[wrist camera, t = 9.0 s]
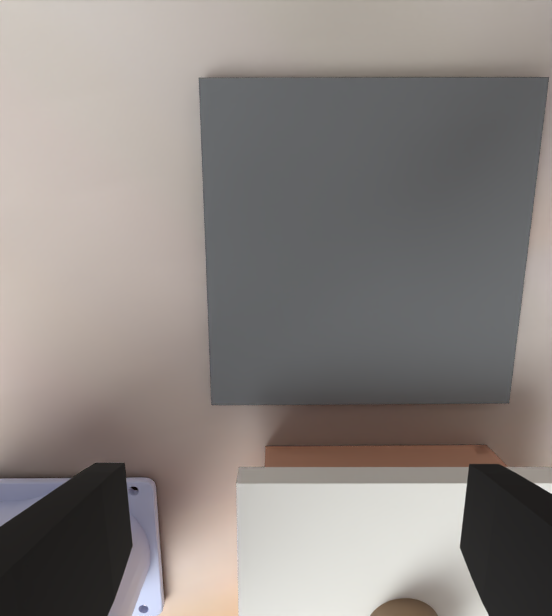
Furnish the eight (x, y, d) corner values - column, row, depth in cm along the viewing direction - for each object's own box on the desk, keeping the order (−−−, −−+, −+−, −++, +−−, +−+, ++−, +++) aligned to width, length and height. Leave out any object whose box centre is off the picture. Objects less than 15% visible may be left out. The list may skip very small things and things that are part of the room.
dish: (267, 627, 21) (266, 716, 17) (265, 446, 19) (263, 501, 15) (465, 625, 21) (508, 713, 18) (486, 444, 19) (540, 499, 15)
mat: (213, 399, 19) (211, 405, 18) (201, 83, 16) (198, 77, 15) (501, 398, 19) (509, 403, 18) (539, 82, 16) (549, 77, 16)
